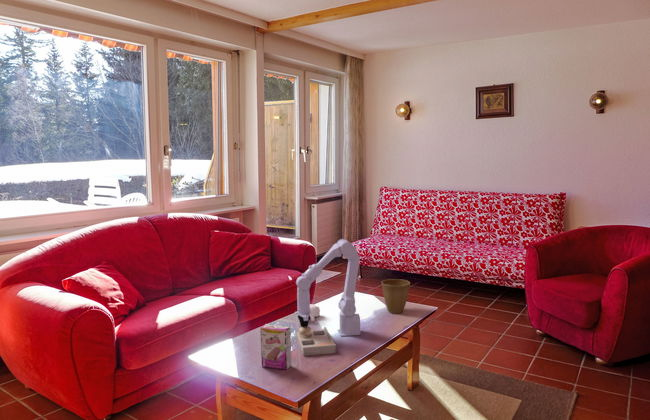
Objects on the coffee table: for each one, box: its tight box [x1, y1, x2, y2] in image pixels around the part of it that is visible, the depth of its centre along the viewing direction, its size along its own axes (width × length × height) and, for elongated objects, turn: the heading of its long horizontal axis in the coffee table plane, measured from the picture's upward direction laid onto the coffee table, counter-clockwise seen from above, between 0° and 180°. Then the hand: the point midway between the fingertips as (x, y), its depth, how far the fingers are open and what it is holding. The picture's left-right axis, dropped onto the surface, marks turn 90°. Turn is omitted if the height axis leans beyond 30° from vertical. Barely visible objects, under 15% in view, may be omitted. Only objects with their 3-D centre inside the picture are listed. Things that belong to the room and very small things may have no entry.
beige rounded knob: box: [298, 325, 312, 338], centre depth 231 cm, size 5×5×4 cm
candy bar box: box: [260, 323, 292, 371], centre depth 203 cm, size 11×5×16 cm, turn 71°
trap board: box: [295, 326, 337, 357], centre depth 226 cm, size 14×24×4 cm, turn 10°
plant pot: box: [381, 278, 411, 315], centre depth 269 cm, size 15×15×16 cm
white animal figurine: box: [310, 303, 321, 322], centre depth 260 cm, size 9×8×15 cm
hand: (304, 331), depth 235 cm, fingers closed
